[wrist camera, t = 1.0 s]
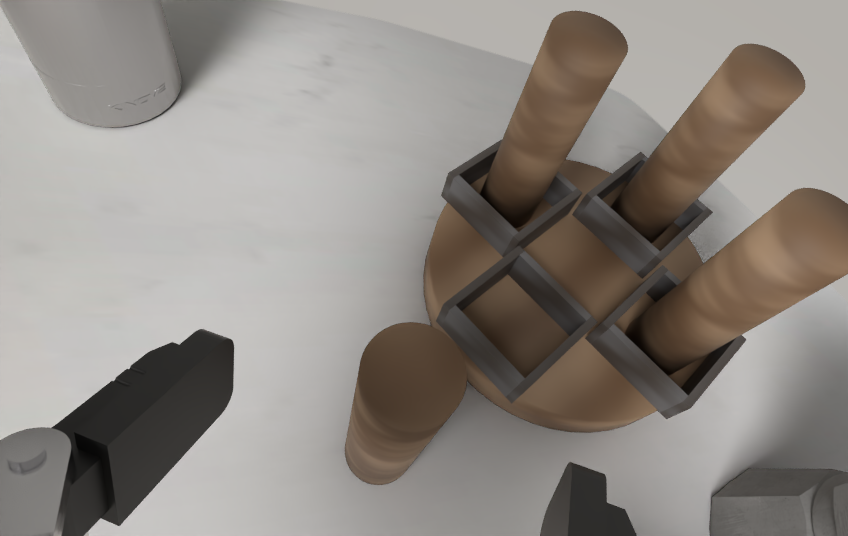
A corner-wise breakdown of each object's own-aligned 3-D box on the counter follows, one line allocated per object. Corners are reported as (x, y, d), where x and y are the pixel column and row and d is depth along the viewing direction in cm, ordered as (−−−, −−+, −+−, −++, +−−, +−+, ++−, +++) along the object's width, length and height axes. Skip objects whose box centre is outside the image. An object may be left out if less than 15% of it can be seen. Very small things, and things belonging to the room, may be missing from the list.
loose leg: (330, 444, 32) (336, 364, 20) (383, 401, 33) (418, 303, 21) (374, 500, 31) (408, 452, 19) (426, 452, 32) (488, 380, 20)
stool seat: (362, 267, 38) (388, 72, 23) (547, 143, 46) (650, -54, 32) (577, 505, 32) (789, 447, 18) (740, 314, 41) (971, 170, 26)
